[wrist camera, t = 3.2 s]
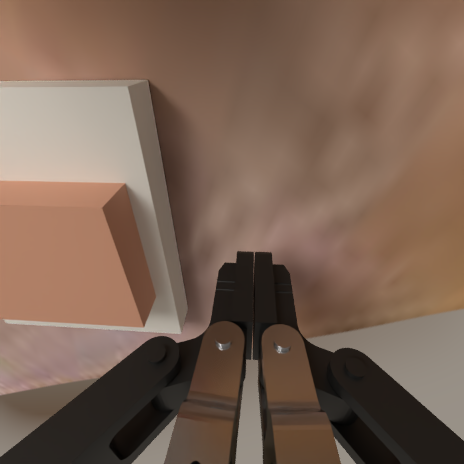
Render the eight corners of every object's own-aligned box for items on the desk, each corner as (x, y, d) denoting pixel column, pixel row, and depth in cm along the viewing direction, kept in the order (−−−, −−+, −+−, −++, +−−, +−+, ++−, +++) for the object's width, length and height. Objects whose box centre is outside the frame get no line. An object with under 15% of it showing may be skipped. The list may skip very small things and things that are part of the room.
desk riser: (148, 79, 10) (127, 86, 9) (187, 308, 18) (181, 333, 17) (-127, 82, 11) (-193, 88, 10) (27, 299, 19) (6, 323, 18)
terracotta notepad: (125, 183, 11) (101, 207, 9) (156, 296, 15) (143, 327, 13) (-96, 178, 12) (-153, 200, 10) (-9, 288, 16) (-39, 316, 14)
